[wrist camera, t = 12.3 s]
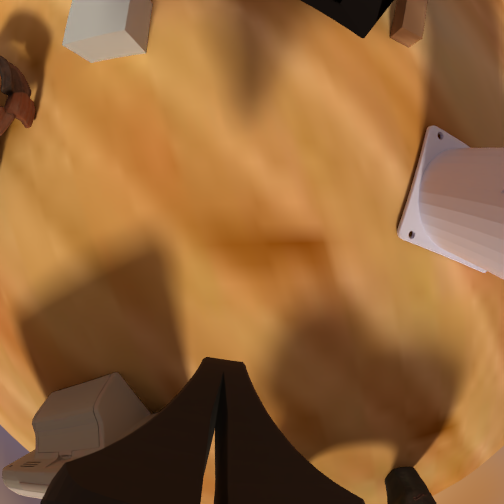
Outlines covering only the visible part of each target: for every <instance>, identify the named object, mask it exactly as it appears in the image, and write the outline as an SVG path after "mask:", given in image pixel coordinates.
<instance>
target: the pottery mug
mask: <svg viewBox="0 0 504 504" xmlns="http://www.w3.org/2000/svg"><path fill="white" fill-rule="evenodd" d="M0 75H1V79H2V86H1V92H2V93H4V94H6V95H8V98H7V101H6V104H5V106H4V107H2V106H0V136H1V135H2V134H3V133H4V132H5V131H6V130H7V128H8V127H9V126H10V124H11V123H12V121H13V120H14V118H16V119H18V120H20V121H21V122H22V124H23V125H24V126H25V128H29V127H31V125H32V123H33V119H34V115H35V107H34V102H33V101H32V100H31V99H30V96H31V89H30V87H29V85H28V83H27V81H26V79H25V77H24V76H23V74H22V73H21V71H20V70H19V69H18V68H17V67H16V66H14V65H13V64H11V63H9V62H8V61H7V60H6V59H5V58H4V57H2V56H0Z"/></svg>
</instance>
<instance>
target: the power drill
mask: <svg viewBox="0 0 504 504" xmlns="http://www.w3.org/2000/svg"><path fill="white" fill-rule="evenodd" d="M385 485H386V491H387V502H388V504H436V502H435V500H434V499H433V497H432V495H431V493H430V492H429V490H428V488H427V486H426V485H425V483H424V482H423V480H422V479H421V478H420V476H419V474H418V473H417V471H416V470H415V469H414V468H413V467H401V468H396V469H393V470H392V472H391V473H390V474H389V475H388V476H387V477H386V478H385Z"/></svg>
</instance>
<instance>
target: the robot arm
mask: <svg viewBox="0 0 504 504" xmlns="http://www.w3.org/2000/svg"><path fill="white" fill-rule="evenodd" d="M438 133H439V134H440V139H439V138H438ZM410 231H412V236H411V237H410V238H409V236H408V235H409V232H410ZM397 235H398V237H399V238H401V239H403V240H405V241H408V242H410V243H413V244H415V245H418V246H420V247H423V248H425V249H428V250H430V251H433V252H435V253H438V254H440V255H443V256H445V257H447V258H450V259H452V260H455V261H457V262H459V263H462V264H464V265H466V266H469V267H471V268H473V269H476V270H478V271H480V272H482V273H485V272H487V271H488V272H490V273H492V274H494V275H496V276H498V277H500V278H502V279H503V280H504V147H490V148H471V147H469V146H468V145H466V144H465V143H463V142H461V141H460V140H458V139H457V138H455V137H453V136H452V135H450V134H449V133H447V132H445V131H444V130H442V129H440V128H439V127H437V126H434V125H433V126H429V127H428V128H427V130H426V134H425V138H424V142H423V146H422V150H421V154H420V158H419V161H418V165H417V169H416V172H415V176H414V179H413V183H412V186H411V189H410V193H409V196H408V199H407V202H406V205H405V208H404V211H403V214H402V217H401V220H400V223H399V226H398V229H397ZM214 430H215V496H214V504H365V503H364V500H363V499H361V498H360V497H358V496H356V495H355V494H353V493H351V492H349V491H348V490H346V489H344V488H343V487H341V486H339V485H338V484H336V483H335V482H333V481H332V480H331V479H329V478H328V477H327V476H325V475H324V474H323V473H321V472H320V471H319V470H317V469H316V468H315V467H314V466H313V465H312V464H311V463H310V462H309V461H307V460H306V459H305V458H304V457H303V456H302V455H301V454H300V453H299V452H298V451H297V450H296V449H295V448H294V447H293V446H292V445H291V443H290V442H289V441H288V440H287V439H286V438H285V436H284V435H283V434H282V433H281V431H280V430H279V429H278V427H277V426H276V425H275V423H274V422H273V420H272V419H271V417H270V416H269V414H268V413H267V411H266V409H265V408H264V406H263V404H262V402H261V401H260V399H259V397H258V395H257V393H256V391H255V389H254V387H253V385H252V382H251V380H250V378H249V375H248V372H247V369H246V366H245V364H244V363H243V362H237V361H230V360H223V359H217V358H210V357H206V358H204V359H203V360H202V362H201V364H200V366H199V368H198V369H197V371H196V372H195V374H194V375H193V376H192V378H191V379H190V380H189V382H188V383H187V384H186V385H185V386H184V388H183V389H182V390H181V391H180V392H179V393H178V394H177V395H176V396H175V398H174V399H173V400H172V401H171V402H170V403H169V404H168V405H167V406H166V407H164V408H163V409H162V410H161V411H160V412H159V413H158V414H157V415H155V416H154V417H153V418H152V419H150V420H149V421H148V422H146V423H145V424H144V425H142V426H141V427H139V428H138V429H136V430H135V431H134V432H132V433H130V434H129V435H127V436H125V437H124V438H122V439H120V440H118V441H116V442H114V443H112V444H110V445H109V446H107V447H105V448H103V449H101V450H98V451H96V452H94V453H91V454H88V455H86V456H83V457H80V458H77V459H75V460H72V461H69V462H65V463H64V464H63V466H62V467H61V468H60V470H59V471H58V472H57V474H56V475H55V476H54V478H53V479H52V481H51V482H50V484H49V486H48V488H47V490H46V492H45V494H44V496H43V498H42V500H41V504H200V502H201V493H202V484H203V476H204V472H205V468H206V464H207V459H208V455H209V451H210V447H211V442H212V438H213V434H214Z"/></svg>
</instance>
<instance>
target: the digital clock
mask: <svg viewBox="0 0 504 504" xmlns="http://www.w3.org/2000/svg"><path fill="white" fill-rule="evenodd" d="M158 413H159V412H158ZM158 413H154V414H151V413H150V412H149V411H148V409H147V408H146V407H145V406H144V405H143V403H142V402H141V401H140V400H139V398H138V397H137V396H136V395H135V393H134V392H133V391H132V390H131V388H130V387H129V386H128V384H127V383H126V382H125V381H124V379H123V378H122V377H121V375H120V374H119V373H118V372H115V373H112V374H109V375H106V376H103V377H100V378H97V379H94V380H91V381H88V382H85V383H82V384H78V385H75V386H72V387H69V388H65V389H62V390H59V391H55V392H52V393H51V394H50V395H49V397H48V398H47V399H46V401H45V402H44V403H43V405H42V406H41V407H40V409H39V410H38V411H37V413H36V414H35V416H34V418H33V421H32V425H33V429H34V431H35V436H36V449H35V450H33V451H32V452H30V453H28V454H27V455H25V456H23V457H22V458H20V459H18V460H16V461H15V462H13V463H11V464H10V465H8V466H6V467H4V468H3V471H2V476H3V477H2V478H3V481H4V483H5V485H6V487H8V488H9V489H11V490H12V491H14V492H16V493H17V494H20V495H23V496H28V497H35V498H41V499H42V498H43V496H44V494H45V492H46V490H47V488H48V486H49V484H50V482H51V481H52V479H53V478H54V476H55V475H56V474H57V472H58V471H59V470H60V468H61V467H62V466H63V464H64V463H65V462H69V461H72V460H75V459H77V458H80V457H83V456H86V455H88V454H91V453H94V452H96V451H98V450H101V449H103V448H105V447H107V446H109V445H110V444H112V443H114V442H116V441H118V440H120V439H122V438H124V437H125V436H127V435H129V434H130V433H132V432H134V431H135V430H136V429H138V428H139V427H141V426H142V425H144V424H145V423H146V422H148V421H149V420H150V419H152V418H153V417H154V416H155V415H157V414H158Z"/></svg>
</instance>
